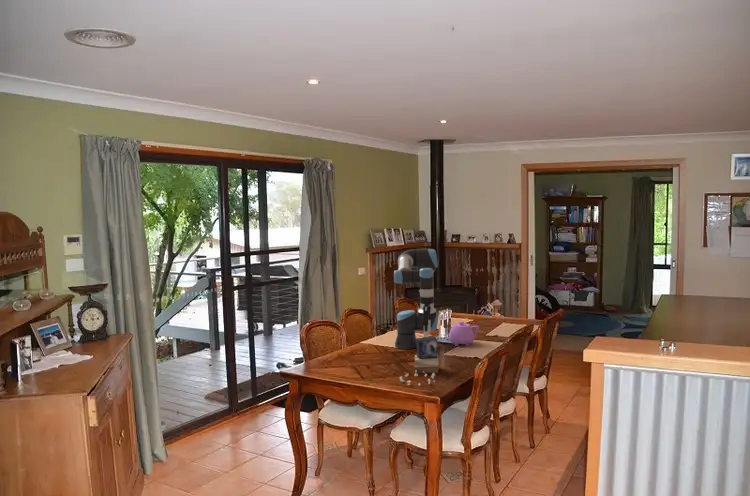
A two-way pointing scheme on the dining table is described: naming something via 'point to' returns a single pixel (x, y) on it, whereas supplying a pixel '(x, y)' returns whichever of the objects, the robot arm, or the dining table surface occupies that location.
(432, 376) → the game piece set
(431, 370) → the tower base block
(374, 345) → the dining table surface
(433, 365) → the tower top block
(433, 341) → the small box
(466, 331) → the teapot
